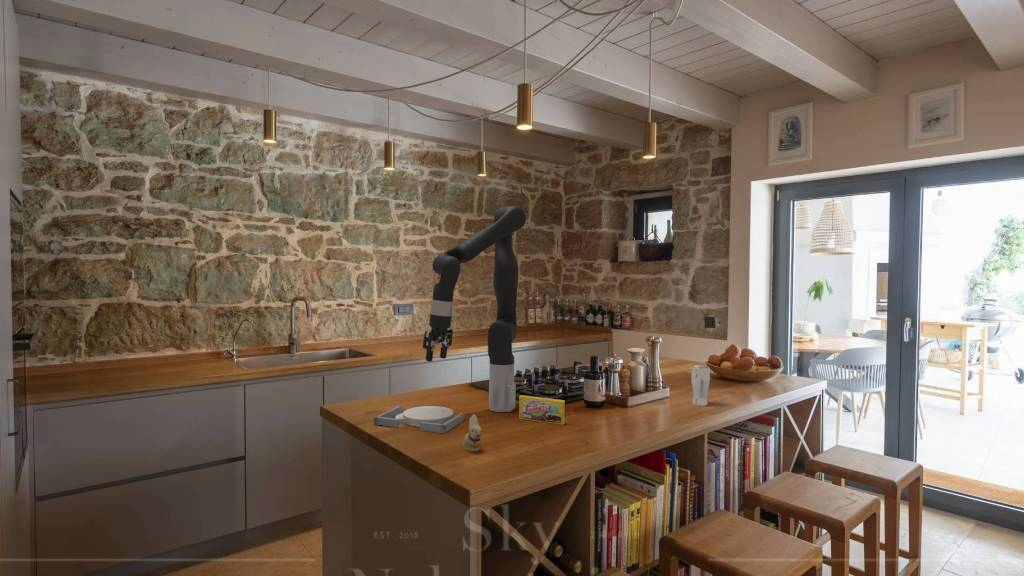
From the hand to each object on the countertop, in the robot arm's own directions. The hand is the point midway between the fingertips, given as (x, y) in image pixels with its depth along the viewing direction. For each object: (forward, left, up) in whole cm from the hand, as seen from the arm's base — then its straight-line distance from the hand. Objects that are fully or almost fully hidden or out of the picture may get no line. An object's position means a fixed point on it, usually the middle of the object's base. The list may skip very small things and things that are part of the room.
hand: (436, 359), depth 184 cm
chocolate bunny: (-23, +24, -21) cm, 39 cm away
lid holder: (+3, +6, -20) cm, 22 cm away
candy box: (-35, -10, -21) cm, 42 cm away
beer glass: (-88, -56, -21) cm, 107 cm away
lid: (+3, +3, -21) cm, 21 cm away
